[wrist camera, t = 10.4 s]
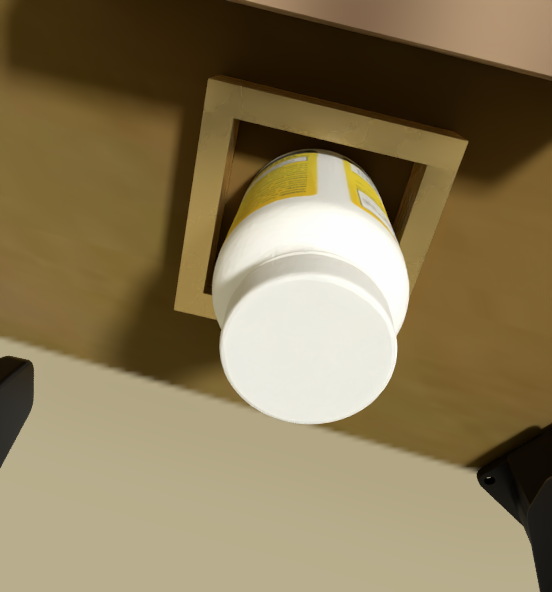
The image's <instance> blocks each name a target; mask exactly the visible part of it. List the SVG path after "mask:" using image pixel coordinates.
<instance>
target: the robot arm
mask: <svg viewBox="0 0 552 592" xmlns="http://www.w3.org/2000/svg"><path fill="white" fill-rule="evenodd" d="M33 395H34V368H33V364H32V362H31V361H29V360H26V359H22V358H17V357H13V356H5V357H2V358H0V468H1V466H2V464H3V462H4V460H5V458H6V456H7V454H8V452H9V450H10V449H11V447H12V445H13V443H14V441H15V440H16V437H17V436H18V434H19V432H20V430H21V428H22V426H23V425H24V423H25V421H26V419H27V417H28V415H29V413H30V411H31V408H32V405H33ZM487 477H491V478H487ZM477 479H478V481H479V484H480V485H481V486H482V487H483V488H484V489H485V490H486V491H487V492H488V493H489V494H490V495H491V496H492V497H493V498H494V499H495V500H496V501H497V502H499V504H501V505H502V506H503V507H504V508H505V509H506V510H507V511H508V512H509V513H510V514H511V515H512V516H513V517H514V518H515V519H516V520H517V521H518V522H519V523H521V524H522V525H523V526H524V528H525V531H526V533H527V536H528V538H529V540H530V543H531V546H532V551H533V557H534V562H535V567H536V572H537V578H538V583H539V588H540V592H552V428H551V429H549V430H547V431H546V432H544V433H542V434H540V435H539V436H537V437H535V438H533V439H532V440H530V441H528V442H526V443H525V444H523V445H521V446H519V447H518V448H516V449H514V450H512V451H511V452H509V453H507V454H506V455H504V456H502V457H500V458H499V459H497V460H495V461H493V462H492V463H490V464H488V465H486V466H485V467H483V468H481V469H480V470H479V471H478V472H477Z"/></svg>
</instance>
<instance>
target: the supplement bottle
mask: <svg viewBox="0 0 552 592" xmlns="http://www.w3.org/2000/svg"><path fill="white" fill-rule="evenodd" d="M212 301H213V307H214V311H215V315H216V318H217V321H218V323H219V326H220V328H221V334H220V345H219V350H220V359H221V363H222V367H223V369H224V372H225V375H226V377H227V379H228V381H229V382H230V384H231V385H232V387H233V388H234V389H235V391H236V392H237V393H238V394H239V395H240V396H241V397H242V399H244V400H245V401H246V402H247V403H248V404H250V405H251V406H252V407H254V408H256V409H257V410H259V411H260V412H262V413H264V414H267V415H269V416H271V417H273V418H276V419H279V420H283V421H287V422H291V423H298V424H321V423H328V422H333V421H337V420H341V419H344V418H346V417H349V416H351V415H353V414H355V413H357V412H359V411H361V410H362V409H364V408H365V407H366V406H368V405H369V404H370V403H372V402H373V401H374V400H375V399H376V398H377V397H378V395H379V394H380V393H381V392H382V391H383V390H384V389H385V387H386V385H387V384H388V382H389V380H390V378H391V376H392V373H393V370H394V367H395V364H396V357H397V339H396V336H397V334H398V332H399V330H400V328H401V326H402V323H403V321H404V318H405V314H406V311H407V306H408V301H409V279H408V274H407V269H406V265H405V260H404V257H403V254H402V251H401V249H400V247H399V244H398V241H397V239H396V237H395V234H394V231H393V229H392V226H391V224H390V221H389V219H388V216H387V213H386V211H385V208H384V205H383V203H382V200H381V197H380V195H379V193H378V191H377V188H376V187H375V185H374V183H373V182H372V180H371V179H370V177H369V176H368V175H367V174H366V172H365V171H364V170H363V169H362V168H361V167H360V166H359V165H357V164H356V163H355V162H353V161H352V160H351V159H349V158H347V157H345V156H343V155H341V154H339V153H336V152H333V151H329V150H324V149H301V150H296V151H292V152H289V153H286V154H283V155H281V156H279V157H277V158H276V159H274V160H272V161H271V162H270V163H268V164H267V165H266V166H265V167H264V168H262V169H261V171H260V172H259V173H258V174H257V175H256V176H255V178H254V179H253V180H252V182H251V183H250V185H249V187H248V188H247V191H246V193H245V195H244V197H243V200H242V202H241V205H240V207H239V210H238V212H237V214H236V216H235V218H234V221H233V223H232V225H231V227H230V230H229V232H228V234H227V237H226V239H225V241H224V243H223V246H222V248H221V250H220V252H219V256H218V259H217V262H216V265H215V269H214V274H213V281H212Z"/></svg>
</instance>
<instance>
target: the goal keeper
mask: <svg viewBox="0 0 552 592" xmlns="http://www.w3.org/2000/svg"><path fill="white" fill-rule="evenodd" d="M240 120H243V121H247V122H251V123H256V124H260V125H264V126H268V127H272V128H276V129H281V130H285V131H289V132H293V133H297V134H301V135H305V136H310V137H314V138H318V139H322V140H326V141H330V142H335V143H339V144H343V145H347V146H351V147H355V148H360V149H364V150H368V151H372V152H376V153H380V154H384V155H389V156H393V157H397V158H401V159H405V160H409V161H414V164H413V167H412V170H411V173H410V176H409V179H408V182H407V185H406V188H405V191H404V194H403V197H402V200H401V203H400V206H399V209H398V212H397V215H396V218H395V221H394V224H393V227H392V229H393V231H394V234H395V237H396V239H397V241H398V244H399V247H400V249H401V251H402V254H403V257H404V260H405V265H406V269H407V274H408V279H409V298H410V295H411V292H412V290H413V287H414V285H415V282H416V279H417V277H418V274H419V271H420V269H421V266H422V263H423V261H424V258H425V255H426V253H427V250H428V247H429V245H430V242H431V240H432V237H433V234H434V232H435V229H436V226H437V224H438V221H439V218H440V216H441V213H442V210H443V208H444V205H445V202H446V200H447V197H448V195H449V192H450V189H451V187H452V184H453V181H454V179H455V176H456V173H457V171H458V168H459V165H460V163H461V160H462V158H463V155H464V152H465V150H466V147H467V144H468V142H469V141H467V140H466V139H464V138H463V137H462V136H460V135H459V134H457V133H456V132H454V131H450V130H446V129H442V128H438V127H434V126H430V125H426V124H422V123H418V122H413V121H409V120H405V119H401V118H397V117H393V116H389V115H385V114H381V113H376V112H372V111H368V110H364V109H360V108H356V107H352V106H348V105H343V104H339V103H335V102H331V101H327V100H323V99H319V98H315V97H311V96H306V95H302V94H298V93H294V92H290V91H286V90H282V89H278V88H273V87H269V86H265V85H261V84H257V83H253V82H249V81H245V80H241V79H236V78H232V77H228V76H224V75H220V74H219V75H216V76H213V77H210V78H208V83H207V90H206V96H205V103H204V110H203V116H202V123H201V130H200V137H199V143H198V150H197V157H196V164H195V170H194V177H193V184H192V191H191V197H190V204H189V211H188V218H187V224H186V231H185V238H184V245H183V251H182V258H181V265H180V272H179V278H178V285H177V292H176V298H175V305H174V310H176V311H180V312H185V313H189V314H194V315H198V316H202V317H207V318H211V319H215V320H217V318H216V315H215V311H214V307H213V301H212V281H213V274H214V272H213V268H214V262H215V257H216V251H217V245H218V240H219V234H220V229H221V223H222V218H223V212H224V207H225V201H226V195H227V190H228V184H229V179H230V173H231V168H232V162H233V157H234V151H235V146H236V140H237V134H238V129H239V123H240Z"/></svg>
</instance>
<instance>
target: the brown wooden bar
mask: <svg viewBox="0 0 552 592" xmlns="http://www.w3.org/2000/svg"><path fill="white" fill-rule="evenodd" d="M227 1H231V2H235V3H239V4H243V5H247V6H251V7H255V8H259V9H263V10H267V11H271V12H275V13H279V14H283V15H287V16H291V17H295V18H299V19H303V20H307V21H311V22H316V23H320V24H324V25H328V26H332V27H336V28H340V29H344V30H348V31H352V32H356V33H360V34H364V35H368V36H372V37H376V38H380V39H384V40H388V41H392V42H396V43H400V44H405V45H409V46H413V47H417V48H421V49H425V50H429V51H433V52H437V53H441V54H445V55H449V56H453V57H457V58H461V59H465V60H469V61H473V62H477V63H481V64H485V65H489V66H494V67H498V68H502V69H506V70H510V71H514V72H518V73H522V74H526V75H530V76H534V77H538V78H542V79H546V80H550V81H552V0H227Z"/></svg>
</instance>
